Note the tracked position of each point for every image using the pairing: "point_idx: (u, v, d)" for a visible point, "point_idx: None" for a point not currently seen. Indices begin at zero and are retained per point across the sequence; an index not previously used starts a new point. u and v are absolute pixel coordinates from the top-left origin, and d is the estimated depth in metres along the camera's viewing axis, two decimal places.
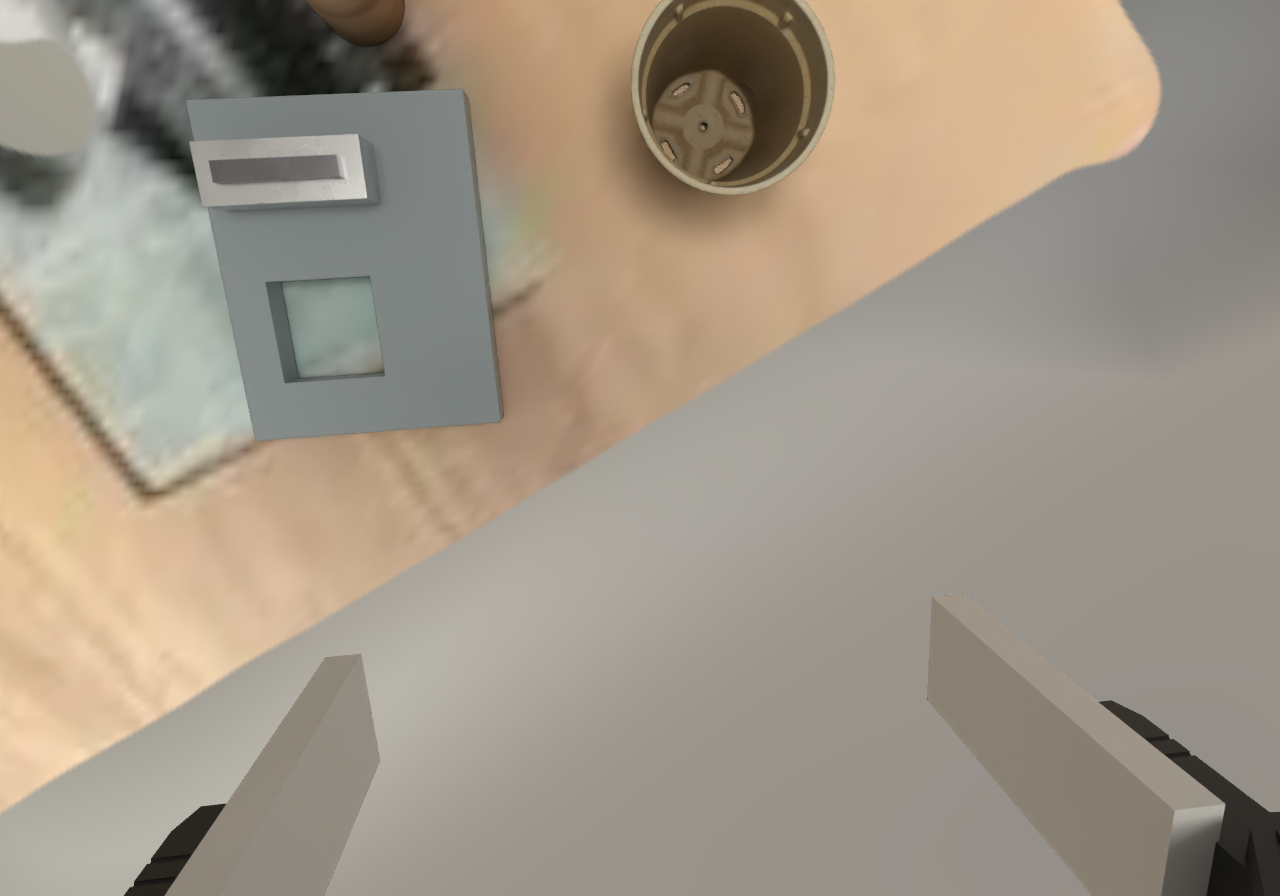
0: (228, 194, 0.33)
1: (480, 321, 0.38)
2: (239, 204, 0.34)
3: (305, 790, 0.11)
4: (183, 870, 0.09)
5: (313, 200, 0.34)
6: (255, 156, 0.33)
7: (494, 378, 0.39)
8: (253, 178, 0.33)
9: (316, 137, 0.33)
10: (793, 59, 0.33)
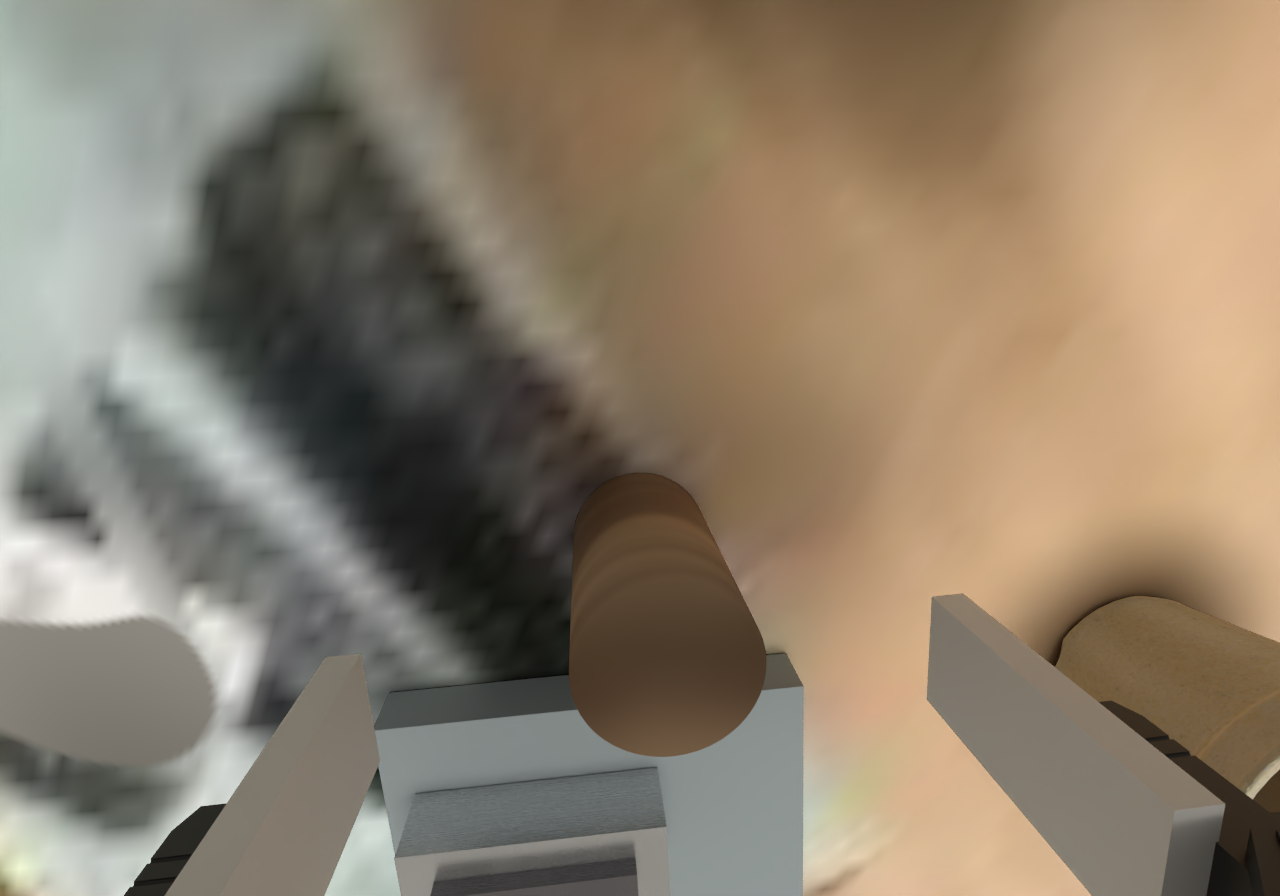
0: None
1: None
2: None
3: (305, 790, 0.11)
4: (183, 870, 0.09)
5: None
6: (499, 869, 0.20)
7: None
8: None
9: (599, 835, 0.20)
10: None
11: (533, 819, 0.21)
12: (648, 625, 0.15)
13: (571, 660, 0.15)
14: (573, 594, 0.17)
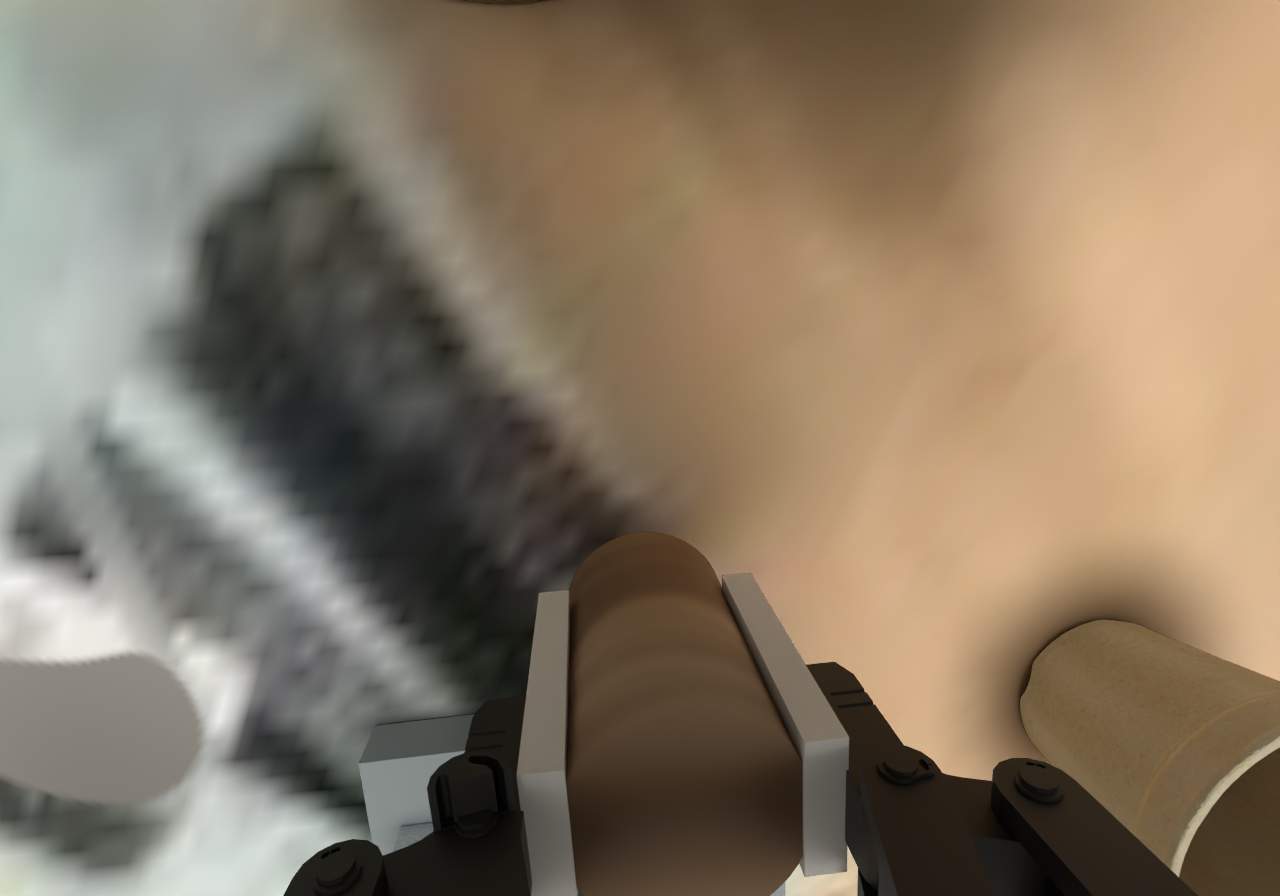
0: None
1: None
2: None
3: None
4: (523, 732, 0.12)
5: None
6: None
7: None
8: None
9: None
10: None
11: None
12: (659, 764, 0.11)
13: None
14: None
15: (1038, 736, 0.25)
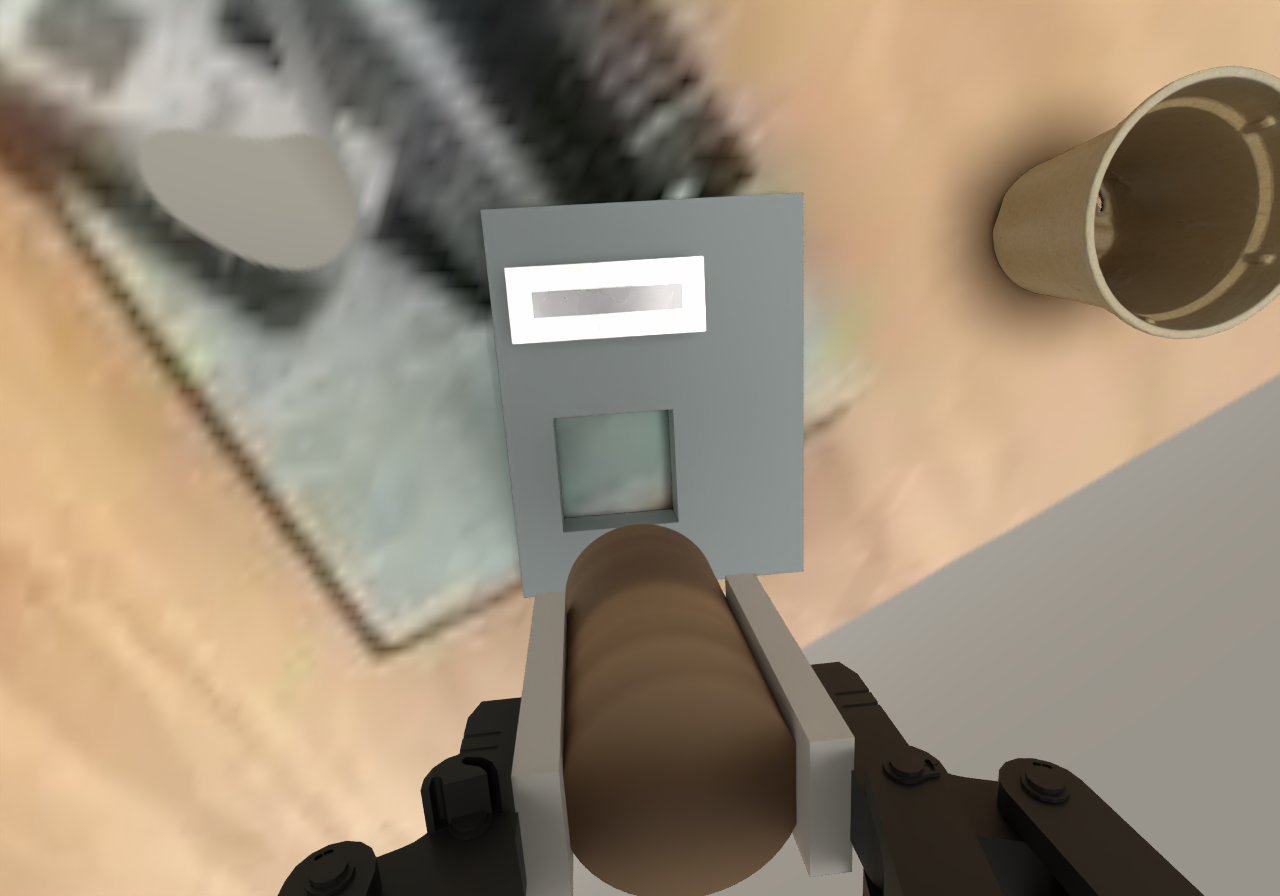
0: (543, 328, 0.27)
1: (793, 458, 0.32)
2: (554, 340, 0.28)
3: None
4: (518, 733, 0.12)
5: (642, 334, 0.28)
6: (580, 284, 0.27)
7: (802, 522, 0.33)
8: (581, 313, 0.27)
9: (654, 260, 0.27)
10: (1243, 167, 0.27)
11: None
12: (658, 741, 0.12)
13: None
14: None
15: (1005, 244, 0.31)
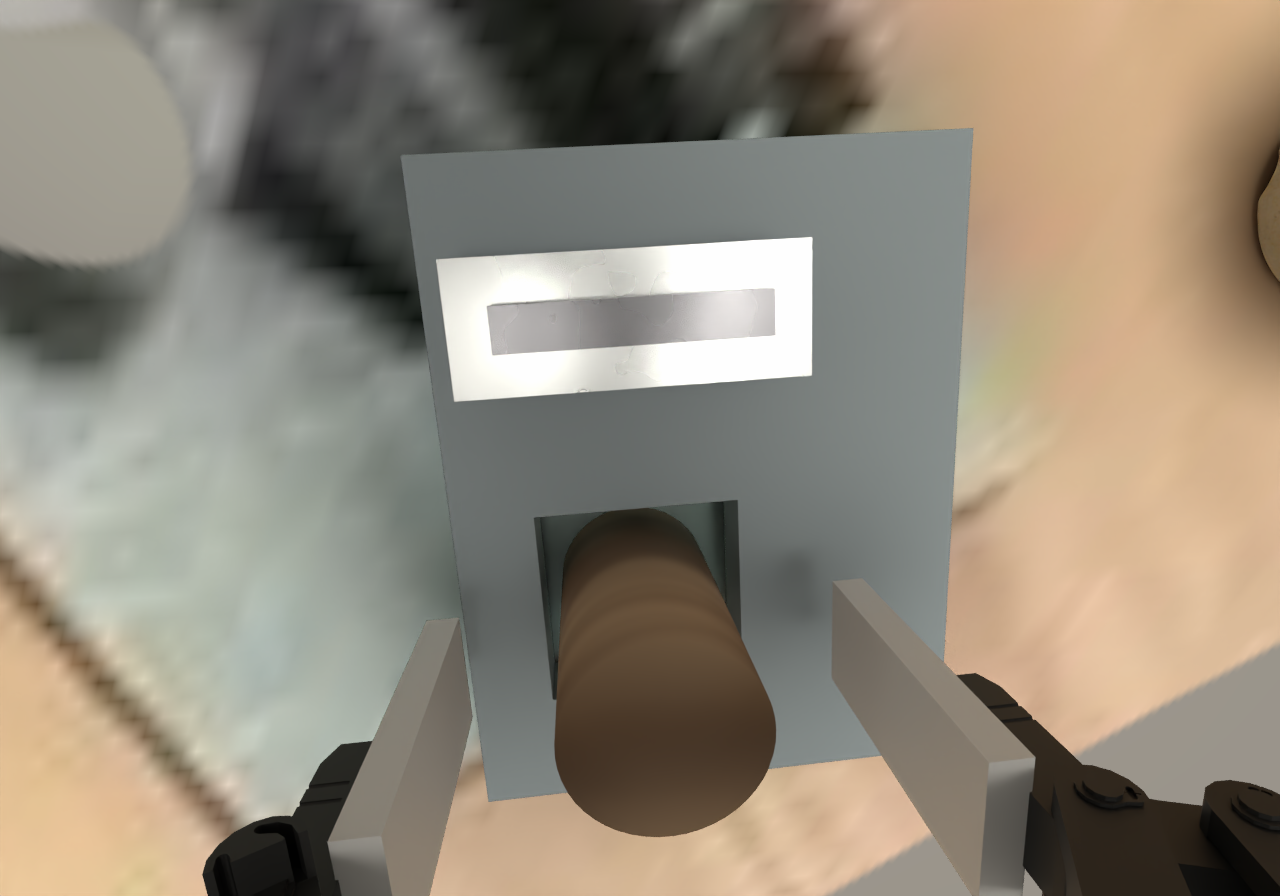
0: (513, 373, 0.15)
1: (932, 575, 0.20)
2: (534, 394, 0.15)
3: (432, 730, 0.13)
4: (353, 787, 0.11)
5: (695, 382, 0.15)
6: (582, 290, 0.14)
7: None
8: (584, 346, 0.14)
9: (720, 246, 0.14)
10: None
11: None
12: (642, 691, 0.13)
13: (556, 732, 0.13)
14: (560, 649, 0.16)
15: None
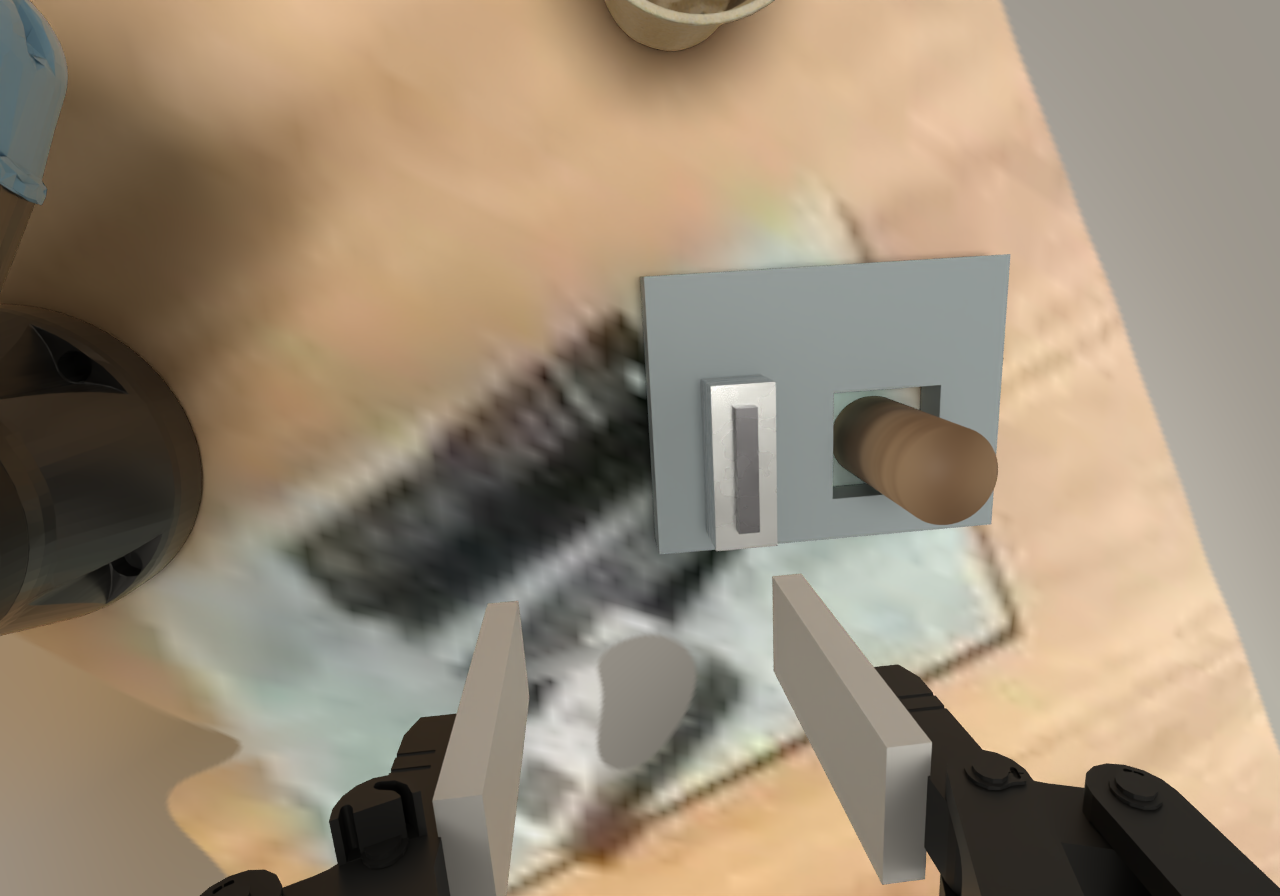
0: (766, 520, 0.32)
1: (892, 272, 0.32)
2: (775, 511, 0.32)
3: (507, 704, 0.13)
4: (447, 753, 0.11)
5: (775, 438, 0.31)
6: (731, 491, 0.32)
7: (958, 258, 0.33)
8: (758, 493, 0.31)
9: (713, 429, 0.31)
10: None
11: (710, 467, 0.32)
12: (921, 487, 0.29)
13: (935, 523, 0.29)
14: None
15: (690, 43, 0.30)
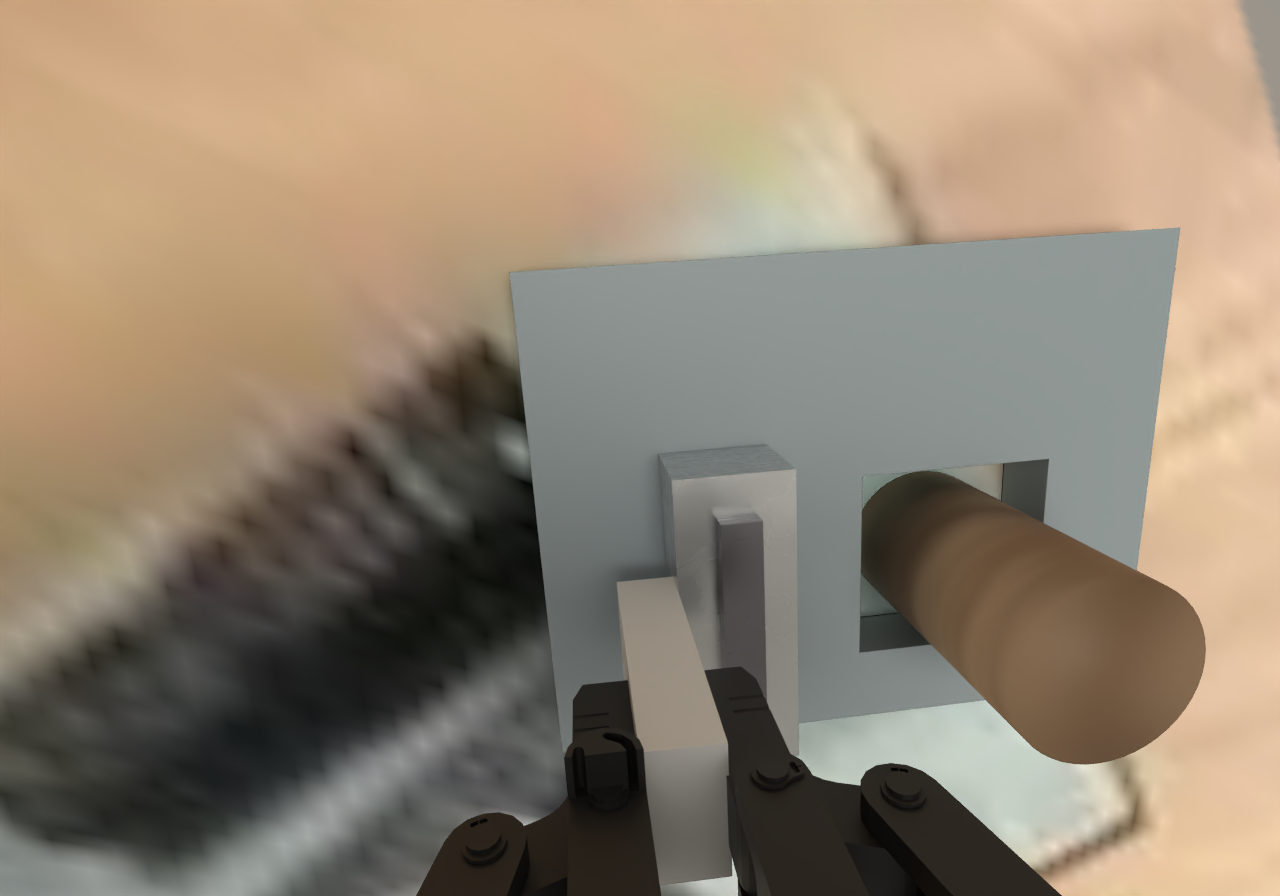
0: (778, 714, 0.18)
1: (969, 261, 0.18)
2: (796, 696, 0.18)
3: None
4: (635, 712, 0.12)
5: (795, 571, 0.17)
6: (714, 666, 0.17)
7: (1088, 235, 0.18)
8: (763, 676, 0.17)
9: (678, 559, 0.16)
10: None
11: None
12: (1052, 697, 0.14)
13: (1075, 762, 0.15)
14: None
15: None
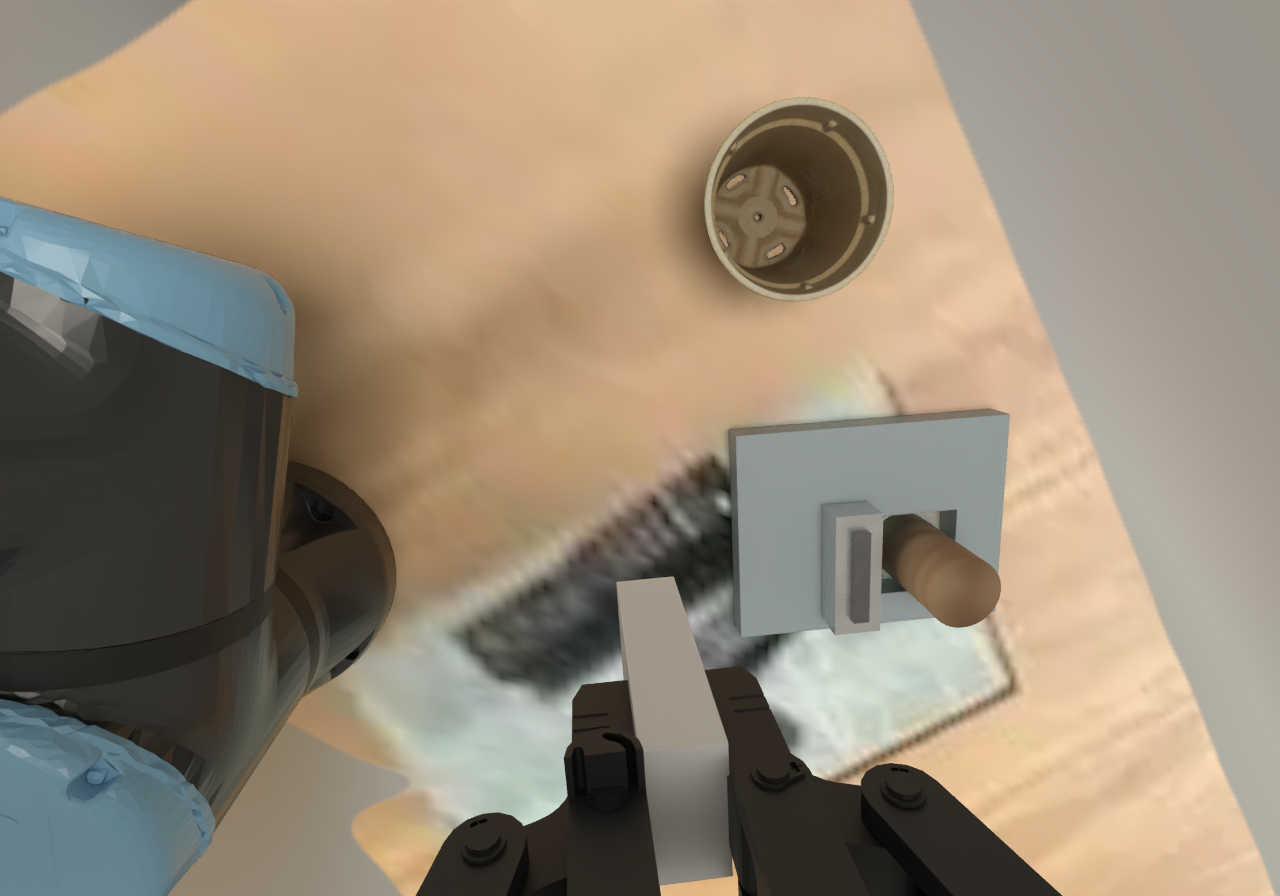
0: (872, 612, 0.43)
1: (921, 428, 0.43)
2: (879, 605, 0.43)
3: None
4: (635, 712, 0.12)
5: (881, 553, 0.42)
6: (847, 591, 0.42)
7: (970, 418, 0.43)
8: (868, 594, 0.42)
9: (836, 547, 0.42)
10: (753, 136, 0.34)
11: (830, 572, 0.43)
12: (945, 601, 0.39)
13: (954, 626, 0.40)
14: None
15: None
